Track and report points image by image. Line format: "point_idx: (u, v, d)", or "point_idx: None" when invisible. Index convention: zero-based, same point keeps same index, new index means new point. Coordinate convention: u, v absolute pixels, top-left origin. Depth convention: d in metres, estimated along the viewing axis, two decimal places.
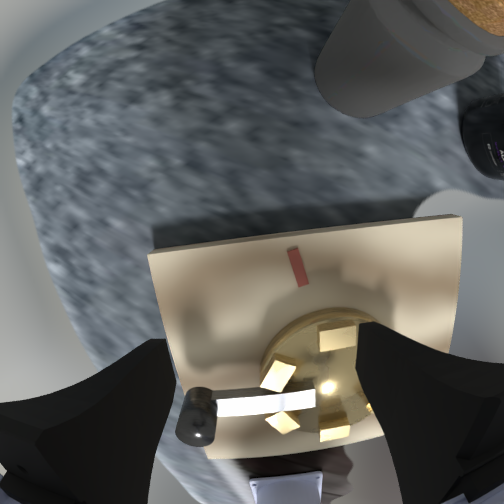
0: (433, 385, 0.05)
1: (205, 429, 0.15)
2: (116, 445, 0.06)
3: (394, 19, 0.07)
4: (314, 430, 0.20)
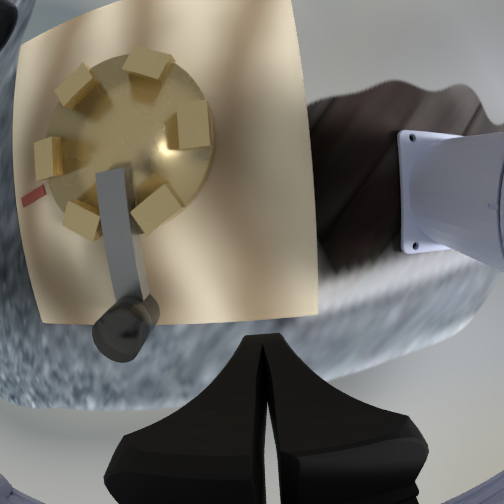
0: None
1: (101, 325, 0.12)
2: (260, 453, 0.06)
3: None
4: (202, 155, 0.14)
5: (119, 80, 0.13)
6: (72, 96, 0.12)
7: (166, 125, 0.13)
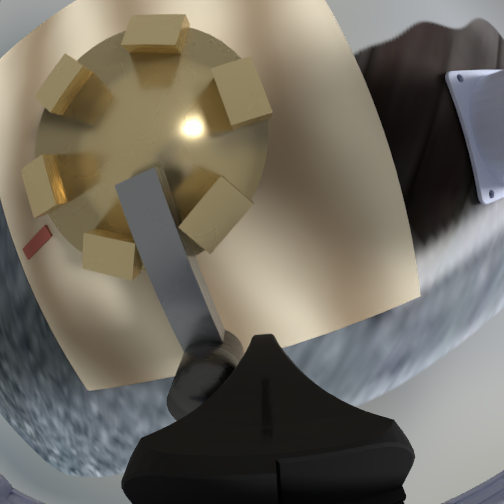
0: (262, 417, 0.05)
1: (179, 393, 0.08)
2: None
3: None
4: (259, 130, 0.10)
5: (119, 63, 0.09)
6: (59, 95, 0.09)
7: (199, 102, 0.10)
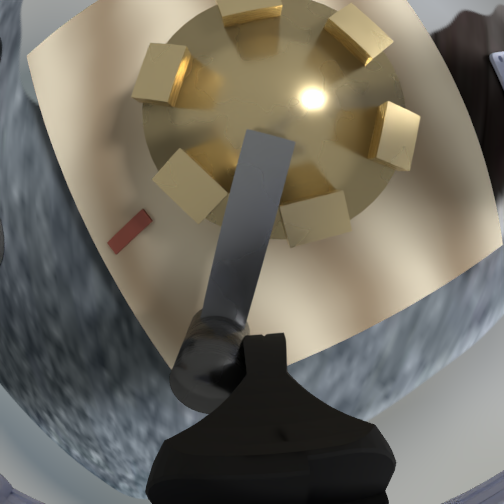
0: (244, 417, 0.05)
1: (196, 362, 0.08)
2: None
3: None
4: (385, 174, 0.10)
5: (308, 29, 0.09)
6: (242, 10, 0.08)
7: (356, 116, 0.10)
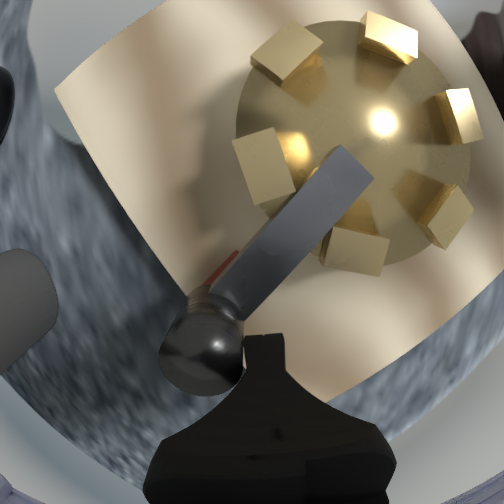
0: (244, 418, 0.05)
1: (202, 336, 0.08)
2: None
3: None
4: (423, 242, 0.11)
5: (423, 89, 0.09)
6: (383, 42, 0.08)
7: (424, 182, 0.10)
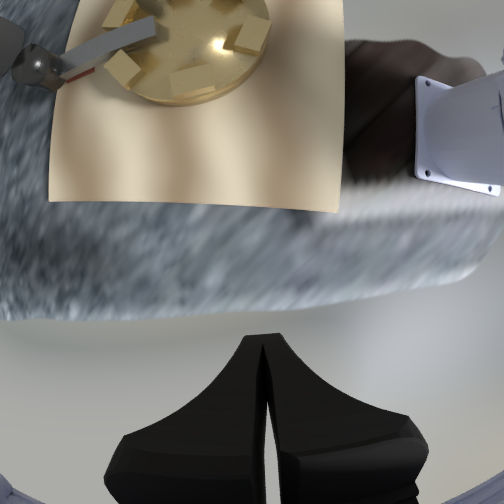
0: None
1: (34, 49, 0.10)
2: (260, 453, 0.06)
3: None
4: (169, 93, 0.14)
5: (241, 16, 0.13)
6: None
7: (195, 60, 0.14)
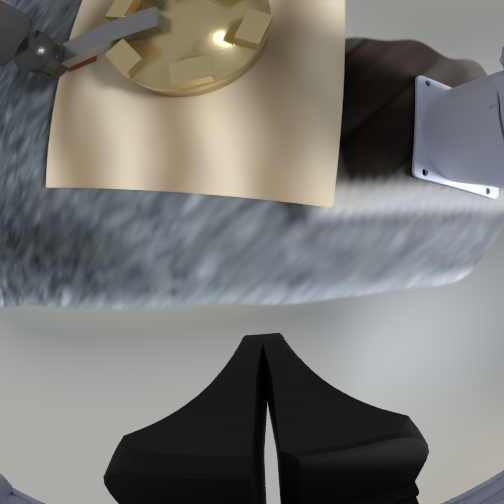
0: None
1: (38, 36, 0.10)
2: (260, 453, 0.06)
3: None
4: (168, 83, 0.14)
5: (243, 10, 0.13)
6: None
7: (195, 51, 0.14)
